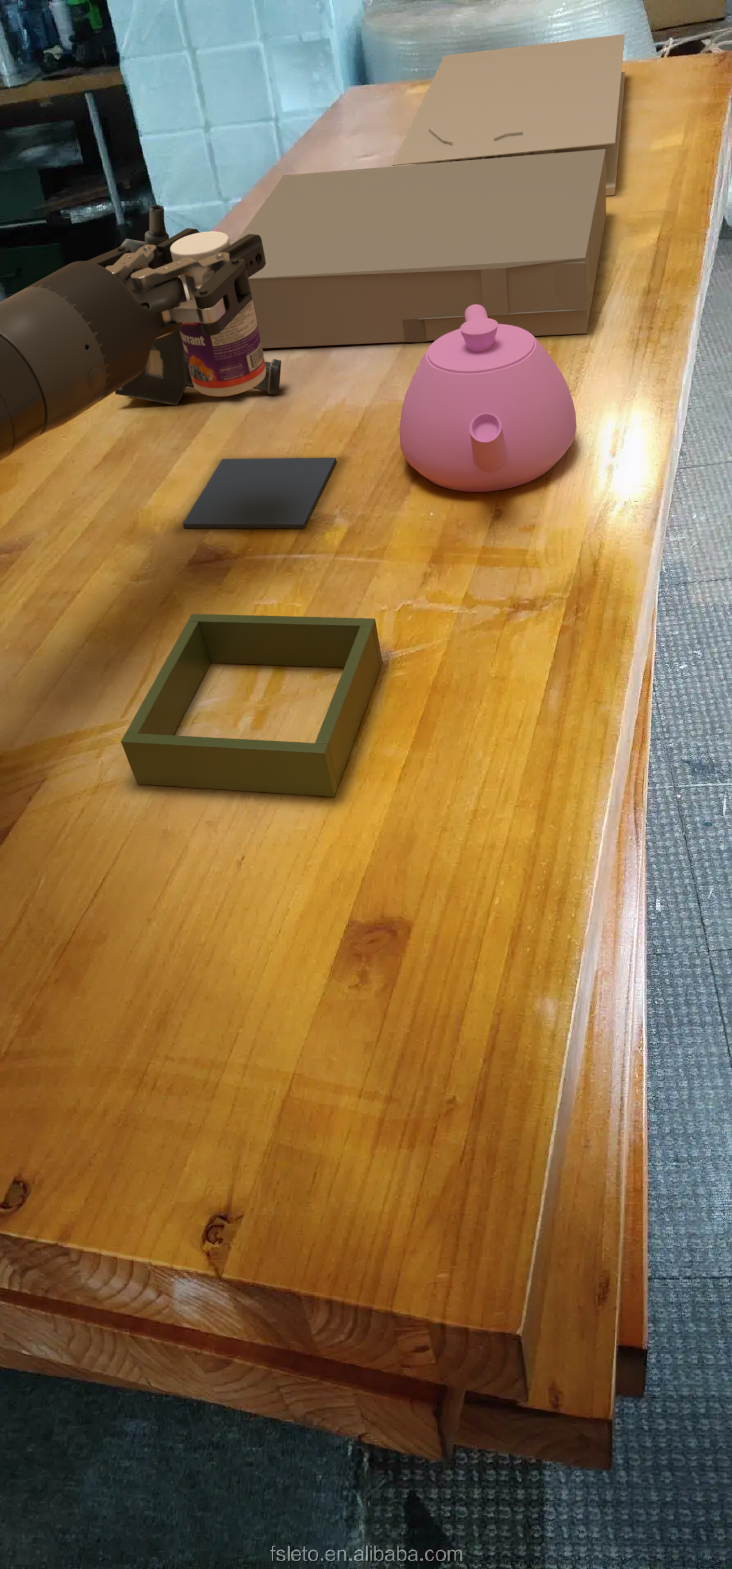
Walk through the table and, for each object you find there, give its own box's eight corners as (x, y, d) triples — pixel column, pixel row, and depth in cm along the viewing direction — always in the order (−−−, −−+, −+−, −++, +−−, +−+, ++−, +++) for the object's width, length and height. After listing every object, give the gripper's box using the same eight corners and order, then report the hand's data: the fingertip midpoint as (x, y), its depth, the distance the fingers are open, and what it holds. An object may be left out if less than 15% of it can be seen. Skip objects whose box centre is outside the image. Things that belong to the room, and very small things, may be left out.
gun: (285, 236, 98) (106, 204, 98) (272, 423, 110) (113, 393, 110) (291, 224, 100) (115, 192, 100) (278, 409, 112) (121, 380, 112)
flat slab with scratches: (447, 97, 169) (443, 52, 165) (624, 78, 164) (624, 30, 160) (398, 214, 138) (392, 161, 134) (614, 194, 133) (614, 138, 129)
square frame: (136, 784, 73) (120, 741, 70) (203, 655, 81) (191, 613, 79) (334, 797, 69) (324, 753, 67) (382, 661, 78) (375, 617, 76)
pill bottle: (183, 380, 87) (148, 243, 81) (250, 357, 89) (221, 220, 82) (209, 406, 83) (175, 264, 77) (279, 381, 85) (251, 240, 78)
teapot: (402, 537, 88) (383, 403, 81) (403, 411, 103) (387, 287, 95) (592, 516, 87) (589, 377, 79) (565, 391, 101) (561, 263, 94)
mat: (183, 528, 94) (182, 523, 94) (223, 462, 101) (222, 458, 100) (304, 528, 91) (303, 524, 91) (336, 461, 98) (336, 457, 98)
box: (606, 216, 128) (605, 145, 123) (586, 334, 108) (585, 255, 104) (294, 240, 137) (283, 175, 132) (223, 353, 117) (206, 281, 112)
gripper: (124, 300, 66) (302, 193, 76) (-46, 277, 73) (137, 181, 83) (158, 426, 71) (321, 310, 81) (-4, 393, 78) (164, 290, 88)
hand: (227, 246), depth 82 cm, fingers closed on pill bottle, 5 cm apart
